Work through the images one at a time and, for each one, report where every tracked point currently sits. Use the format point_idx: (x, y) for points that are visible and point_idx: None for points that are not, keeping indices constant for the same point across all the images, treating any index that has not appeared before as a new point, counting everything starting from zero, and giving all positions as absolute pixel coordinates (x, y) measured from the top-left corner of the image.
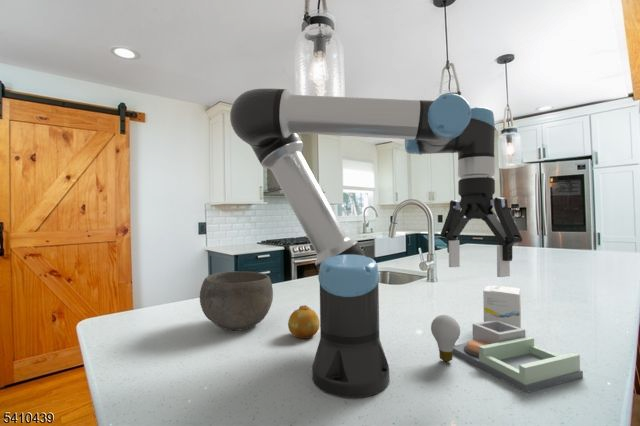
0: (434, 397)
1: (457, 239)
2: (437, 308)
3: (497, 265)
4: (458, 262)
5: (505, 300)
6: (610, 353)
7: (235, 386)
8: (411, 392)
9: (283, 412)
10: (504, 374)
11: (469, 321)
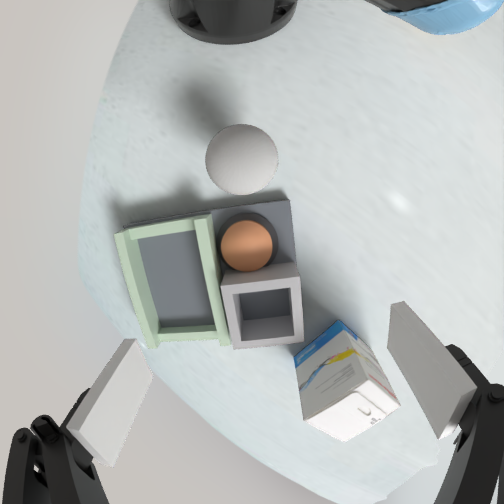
0: (145, 88)
1: (457, 437)
2: (470, 315)
3: (115, 364)
4: (395, 354)
5: (322, 394)
6: (217, 414)
7: None
8: (165, 62)
9: None
10: (156, 220)
11: None
